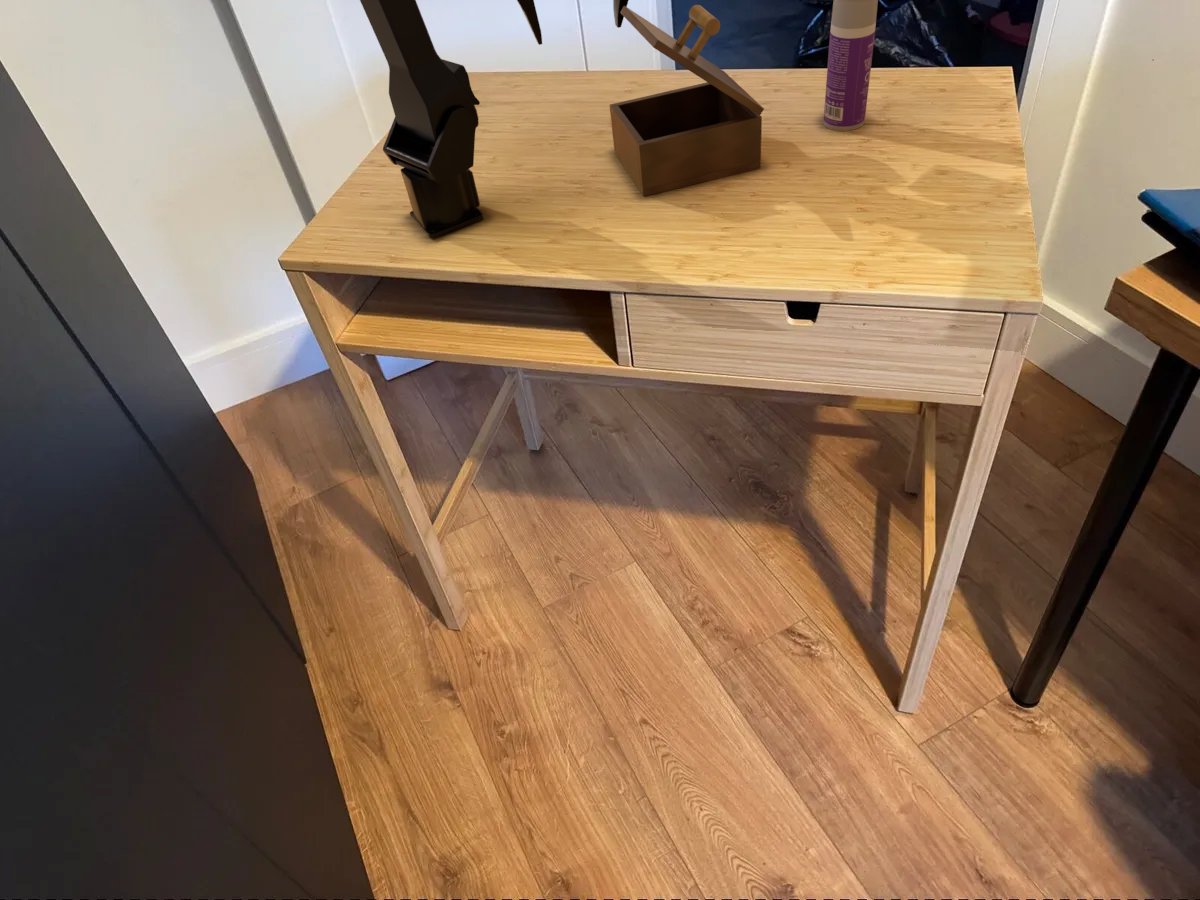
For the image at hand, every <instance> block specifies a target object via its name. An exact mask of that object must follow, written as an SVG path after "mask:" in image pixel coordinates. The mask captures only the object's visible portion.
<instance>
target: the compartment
mask: <svg viewBox="0 0 1200 900" xmlns="http://www.w3.org/2000/svg"><path fill="white" fill-rule="evenodd" d="M609 113H610V122H611V123H610V124H611V131H612V133H611V134H612V140H613V141H612V142H613V150H614V155H615V156H616V157H617V159H618V160H619V162H620V163H621V165H622V166H623V167H624V170H625V171H626V172H627V174H628V175H629V177H630V178H631V180H632V181H633V183H634V184H635V186H636V187H637V189H638V190H639V192H640V194H641V195H642V196H643V197H647V196H651V195H656V194H660V193H664V192H667V191H673V190H676V189H681V188H684V187H689V186H692V185H696V184H701V183H705V182H709V181H713V180H717V179H721V178H725V177H730V176H734V175H738V174H742V173H746V172H747V173H748V172H751V171H755V170H759V169H761V166H762V165H761V162H762V127H763V126H762V125H763V124H762V123H763V116H762V114H760V115H758V114H756V113H755V112H753V111H752V110H750V109H749V108H747V107H745V106H744V105H742V104H741V103H739V102H738V101H736V100H734V99H733V98H731V97H730V96H728V95H727V94H725V93H724V92H722V91H720V90H719V89H717V88H716V87H714V86H713V85H711V84H710V83H708V82H706V81H705V82H702V83H698V84H693V85H688V86H685V87H681V88H676V89H672V90H668V91H663V92H658V93H653V94H650V95H644V96H642V97H641V96H640V97H637V98H633V99H628V100H623V101H619V102H615V103H611V104H609Z"/></svg>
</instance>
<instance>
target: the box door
mask: <svg viewBox="0 0 1200 900" xmlns="http://www.w3.org/2000/svg"><path fill="white" fill-rule="evenodd" d="M620 13H621V14H622V15H623V16H624V18H625V20H627V21H628V23H629V24H630V25H631V26H632V27H633V28H634V29H635V30H636V31H637V32H638V33H639V34H640V36H642V38H644V39H645V41H646V42H647V43H648V44H649V45H650V46H651V47H652V48H653V49H655V50H656V51H658V52H660V53H661V54H663V55H664V56H666V57H667V58H669V59H671V60H672V61H674V62H675V63H677V64H678V65H680V66H681V67H683V68H684V69H686V70H687V71H689V72H690V73H692V74H694V75H696V76H697V77H698V78H700V79H702V80H703V81H705V83H706V82H708V83H710V84H711V85H713V86H714V87H716V88H717V89H719V90H720V91H722V92H724V93H725V94H727V95H728V96H730V97H731V98H733V99H734V100H736V101H738V102H739V103H741V104H742V105H744V106H745V107H747V108H749V109H750V110H752V111H753V112H755V113H756V114H758V115H762V113H763V112H764V110H765V108H764V107H763V106H762V105H761V104H760V103H759V102H758V101H757V100H756V99H754V97H753V96H751V95H750V94H749V93H748V92H747V91H746V90H745V89H743V88H742V86H740V85H739V84H738V83H737V81H735V80H734V79H733V78H732V77H731V76H729V74H728V73H727V72H725V70H723V69H721V68H720V67H718V66H717V65H716V64H714V63H713V62H711V61H709V60H707V58H705V57H703V56H701V55H700V54H701V52H702V51H703V48H705V45H706V43H708V40H709V39H710V37H712V36H715V35H717V34H718V33H719V32H720V28H721V22H720V20H719V19H718V18H717V17H715V16H714V15H712V14H711V13H710V12H709V11H708V10H707V9H705V8H704V7H703V6H702V5H700V4H694V5H692V6H691V7H690V8H689V11H688V17H689V20H688V21H687V23H686V25H685V27H683V29H682V32H681V33H680V35H679V36H678V38H677V39H676V38H675V37H673V36H671V35H670V34H668V33H667V32H665V31H664V30H662V29H661V28H659V27H658V26H656V25H655V24H653V23H652V22H650V21H649V20H647V19H646V18H644V17H643V16H641V15H640V14H638V13H637V12H635V11H633V10H632V9H631V8H629V7H628V6H627V7H626V6H623V8H622V10H621V12H620ZM696 26H697V27H698V28H699V29H701V30H702V31H701V33H700V35H699V36H698V38H697V40H696V42H695V43H694V44H693V46H692V48H689V47H688V46H687V45H686V42H687V41H688V39H689V38H690V36H691V34H693V31H694V29H695V28H696Z"/></svg>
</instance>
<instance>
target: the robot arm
mask: <svg viewBox="0 0 1200 900" xmlns="http://www.w3.org/2000/svg"><path fill="white" fill-rule="evenodd" d="M359 1H360V3H361V6H362V8H363V10H364V13H365V15H366V17H367V19H368V23H369V24H370V25H371V26H370V27H371V29H372V30H373V33H374V35H375V37H376V40H377V41H378V44H379V46H380V48H381V51H382V53H383V56H384V58H385V60H386V62H387V66H388V70H389V71H388V72H389V73H388V74H389V75H388V76H389V77H388V97H389V99H390V103H391V106H392V110H393V114H394V119H393V121H392V124H391V126H390V128H389V131H388V134H387V137H386V139H385V141H384V144H383V147H382V152H383V153H384V154H385V156H386V157H387V158H388V160H389V161H390V162H391V164H392V165H395V166H397V165H398V166H400V167H402V168H400V173H401V176H402V180H403V182H404V186H405V190H406V192H407V196H408V199H409V202H410V205H411V209H412V210H411V211H410V212H409V215H410V218H411V220H412V221H414V222H415V224H416V225H417V226H418V227H419V228H420V229H421V230H422V231H423V232H424V234H425V235H426V236H427V237H428V238H430V239H434V238H436V237H439V236H442V235H444V234H448V233H450V232H452V231H455V230H457V229H461V228H463V227H465V226H468V225H471V224H473V223H475V222H478V221H481V220H483V219H484V213H483V212H482V211H481V210H480V209H479V207H480V205H481V201H480V198H479V194H478V190H477V185H476V181H475V177H474V173H473V171H472V170H471V168H473V167H474V161H475V160H474V159H475V142H476V130H477V128H478V127H479V122H480V121H479V115H478V109H477V107H476V106H479V105H480V104H481V102H480V100H479V99H478V98H477V97H476V96H475V94H474V92H473V89H472V86H471V81H470V77H469V74H468V72H467V69H466V67H465V65H463V64H460V63H457V62H453V61H450V60H446V59H443V58H441V57H440V55H439V54H438V52H437V51H436V48H435V46H434V42H433V41H432V37H431V36H430V33H429V31H428V28H427V26H426V23H425V21H424V18H423V16H422V13H421V10H420V8H419V5H418V2H417V0H359ZM516 1H517V3H518V5H519V6H520V8H521V11H522V13H523V15H524V17H525V19H526V21H527V24H528V25H529V26H528V27H529V28H530V30H531V32H532V34H533V36H534V38H535V40H536V42H537V44H538V46H540V45H543V35H542V29H541V26H540V20H539V17H538V13H537V8H536V4H535V0H516ZM612 1H613V2H612V3H613V5H612V7H613V8H612V9H613V18H614V25H615V26H616V28H622V25H623V23H624V18H625V17H624V16H623V15H622V14H621V13H620V12H621V10H622V8H623V6H626V7H627V8H628V4H629V0H612Z"/></svg>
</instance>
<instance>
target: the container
mask: <svg viewBox="0 0 1200 900" xmlns="http://www.w3.org/2000/svg"><path fill="white" fill-rule="evenodd" d="M878 2H879V0H833V3H832V11H831V22H830V31H829V42H828V44H829V45H828V55H827V56H828V57H827V69H826V82H825V95H824V109H823V122H822V123H823V125H824V127H825V128H827V129H829V130H832V131H836V132H849V131H854V130H857V129H859V128H861V127H862V126H864V124H865V123H866V122H865V120H866V112H867V106H868V105H867V104H868V98H869V97H868V95H869V87H870V79H871V71H872V62H873V53H874V44H875V36H876V25H877V15H878V14H877V13H878Z"/></svg>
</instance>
